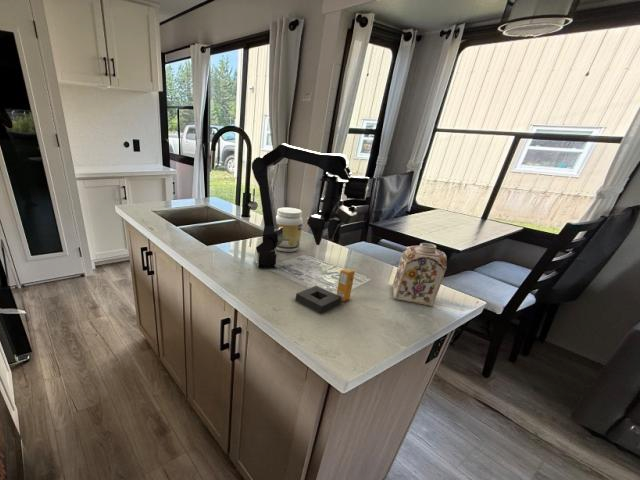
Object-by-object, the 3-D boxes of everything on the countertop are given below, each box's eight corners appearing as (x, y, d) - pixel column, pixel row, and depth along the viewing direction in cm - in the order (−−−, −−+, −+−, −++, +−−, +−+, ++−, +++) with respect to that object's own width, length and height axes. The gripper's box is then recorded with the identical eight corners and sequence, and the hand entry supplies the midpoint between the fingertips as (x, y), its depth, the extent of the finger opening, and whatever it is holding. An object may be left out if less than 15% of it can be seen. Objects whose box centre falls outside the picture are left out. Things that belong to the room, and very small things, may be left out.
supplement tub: (300, 253, 141) (306, 214, 133) (272, 252, 141) (276, 212, 133) (296, 244, 152) (301, 207, 144) (270, 242, 152) (274, 206, 144)
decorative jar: (432, 307, 103) (453, 253, 95) (393, 299, 107) (409, 247, 98) (427, 291, 113) (445, 241, 105) (392, 285, 117) (406, 236, 108)
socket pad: (295, 300, 103) (296, 293, 102) (315, 292, 109) (316, 285, 108) (320, 313, 97) (321, 306, 96) (340, 304, 103) (341, 297, 102)
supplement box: (340, 295, 108) (347, 267, 103) (349, 299, 106) (356, 271, 101) (334, 297, 106) (340, 269, 101) (343, 302, 104) (349, 273, 99)
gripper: (343, 204, 96) (333, 254, 103) (367, 197, 108) (356, 241, 116) (309, 198, 102) (302, 245, 109) (336, 191, 115) (328, 234, 122)
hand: (324, 242), depth 114 cm, fingers open, 9 cm apart
